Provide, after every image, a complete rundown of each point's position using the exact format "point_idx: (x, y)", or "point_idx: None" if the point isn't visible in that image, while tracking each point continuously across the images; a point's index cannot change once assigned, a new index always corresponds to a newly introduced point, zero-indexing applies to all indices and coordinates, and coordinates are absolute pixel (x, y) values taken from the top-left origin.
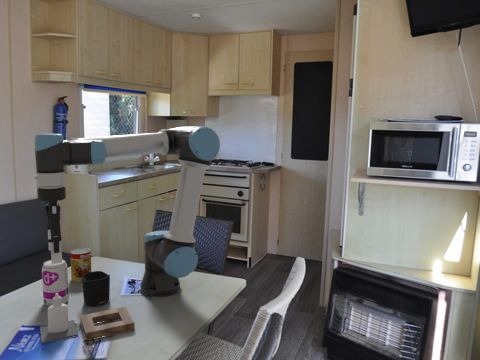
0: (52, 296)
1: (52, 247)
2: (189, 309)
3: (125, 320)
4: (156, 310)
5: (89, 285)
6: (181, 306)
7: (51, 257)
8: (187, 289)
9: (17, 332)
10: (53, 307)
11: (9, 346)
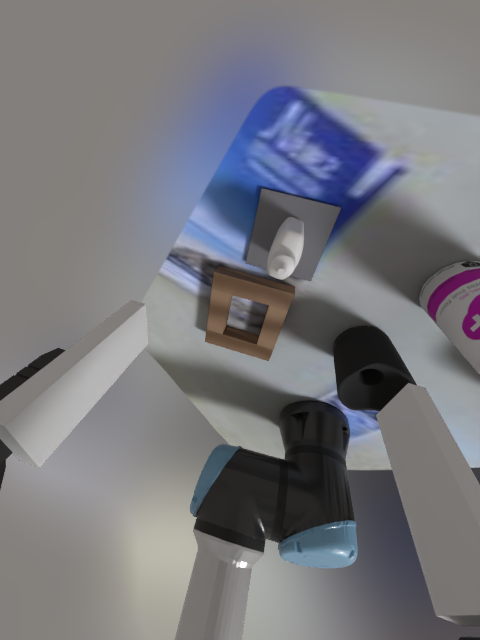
0: (448, 285)
1: (41, 378)
2: (222, 402)
3: (219, 336)
4: (248, 380)
5: (355, 361)
6: (236, 402)
7: (104, 321)
8: (280, 434)
9: (371, 145)
10: (278, 245)
11: (306, 105)
